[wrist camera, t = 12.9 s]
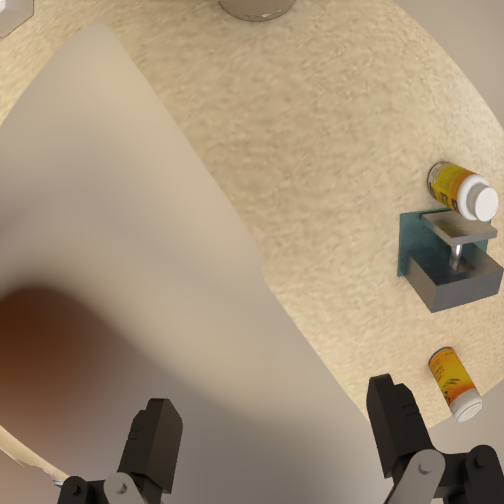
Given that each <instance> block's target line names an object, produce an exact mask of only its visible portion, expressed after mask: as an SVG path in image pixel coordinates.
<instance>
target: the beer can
mask: <svg viewBox="0 0 504 504" xmlns="http://www.w3.org/2000/svg"><path fill="white" fill-rule="evenodd" d="M430 369H431V371H432V373H433V375H434V377H435V379H436V381H437V383H438V385H439V387H440V389H441V391H442V393H443V396H444V398H445V400H446V402H447V404H448V406H449V408H450V411H451V413H452V415H453V417H454V418H455V419H456V420H457V421H458V422H463V421H465V420H467V419H469V418H471V417H472V416H474V415H475V414H476V413H477V412H478V411H479V410H480V409H481V407H482V398H481V396H480V394H479V392H478V391H477V389H476V387H475V385H474V383H473V382H472V380H471V378H470V376H469V375H468V373H467V371H466V370H465V368H464V366H463V365H462V363H461V361H460V360H459V358H458V356H457V355H456V353H455V351H454V350H453V349H449V348H444V349H442V350H440V351H438V352H437V353H436V354H435V355H434V356H433V357H432V359H431V361H430Z"/></svg>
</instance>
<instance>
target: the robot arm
mask: <svg viewBox="0 0 504 504" xmlns="http://www.w3.org/2000/svg"><path fill="white" fill-rule="evenodd" d="M218 1H219V3H220V5H221V6H222V7H223V8H224V9H225V10H226V11H227V12H228V13H230V14H231V15H233V16H235V17H237V18H240V19H243V20H247V21H266V20H271V19H274V18H276V17H279V16H281V15H282V14H284V13H286V12H287V11H288V10H289V9H290V8H291V7H292V5H293V3H294V2H295V0H218ZM366 405H367V411H368V415H369V419H370V422H371V426H372V429H373V434H374V437H375V441H376V445H377V449H378V453H379V457H380V461H381V465H382V469H383V473H384V478H389V477H392V478H393V482H394V486H393V487H392V489H391V491H390V493H389V495H388V497H387V498H386V500H385V502H384V504H430V503H431V500H432V498H443V503H444V504H504V475H503V472H502V469H501V466H500V463H499V460H498V457H497V454H496V452H495V450H494V449H493V448H492V447H490V446H488V445H479V446H476V447H474V448H473V449H472V450H471V451H470V452H468V453H458V454H445V453H441V452H440V451H438V450H436V448H435V447H434V446H433V445H432V442H431V440H430V437H429V435H428V432H427V429H426V426H425V424H424V421H423V419H422V416H421V413H420V412H419V408H418V406H417V404H416V401H415V399H414V396H413V394H412V391H411V390H409V389H408V388H407V387H406V386H405V385H404V384H403V383H401V384H397V385H394V383H393V381H392V378H391V376H390V374H388V373H387V374H383V375H379V376H375V377H371V378H370V380H369V386H368V392H367V398H366ZM130 430H131V431H130V432H129V435H128V440H127V442H126V445H125V448H124V451H123V455H122V458H121V461H120V465H119V468H118V470H117V472H116V473H113V474H111V475H110V476H109V477H108V478H107V479H106V480H99V481H87V482H86V481H85V480H84V479H82V478H81V477H78V476H71V477H69V478H67V479H66V480H65V481H64V483H63V485H62V488H61V492H60V496H59V499H58V503H57V504H164V503H163V502H162V500H161V496H162V493H166V494H171V491H172V485H173V479H174V473H175V468H176V463H177V457H178V452H179V446H180V441H181V436H182V430H183V423H182V419H181V417H180V416H179V414H178V412H177V411H176V409H175V408H174V406H173V404H172V403H171V401H170V400H169V399H163V398H161V399H160V398H159V399H158V398H151V399H150V400H149V402H148V404H147V407H146V410H140V411H139V413H138V414H137V415H136V416H135V418H134V419H133V422H132V425H131V429H130Z"/></svg>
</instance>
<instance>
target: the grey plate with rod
mask: <svg viewBox="0 0 504 504" xmlns="http://www.w3.org/2000/svg"><path fill="white" fill-rule="evenodd" d="M421 222H422V223H424V224H425V225H426V226H427V227H428V228H430V229H431V230H432V231H433V232H435V233H436V234H437V235H438V236H439V237H440V238H442V239H443V240H444V241H445V242H446V243H447V244H449V245H450V246H451V252H450V260H449V264H450V265H451V266H452V267H453V268H454V269H455V270H456V271H457V272H458V270H459V264H460V258H461V251H462V244H466V243H471V242H476V241H481V240H486V239H491V238H496V236H497V229H495V228H494V227H492V226H491V225H489V224H488V223H486V222H485V221H481V220H479V219H477V220H468V219H466V218H464V217H463V216H461V215H460V214H458V213H457V212H455V211H446V212H438V213H430V214H423V215H421Z"/></svg>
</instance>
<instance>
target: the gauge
mask: <svg viewBox="0 0 504 504" xmlns="http://www.w3.org/2000/svg"><path fill="white" fill-rule="evenodd" d="M446 211H454V210H452V209H450V208H444V209H436V210H428V211H420V212H412V213H404V214H400V240H399V259H398V273H397V276H398V277H400V276H405V277H406V279H407V280H408V281H409V283H410V284H411V285H412V287H413V288H414V289H415V291H416V292H417V294H418V295H419V296H420V298H421V299H422V301H423V302H424V303H425V305H426V306H427V308H428V309H429V310H430V312H431V313H434V312H438V311H442V310H445V309H449V308H453V307H456V306H460V305H463V304H467V303H470V302H473V301H477V300H480V299H483V298H486V297H489V296H492V295H495V294H498V291H499V287H500V283H501V279H502V275H503V271H504V268H503V267H502V266H500V265H499V264H498V263H497V262H496V261H495V260H493V259H492V258H491V257H490V256H489V255H488V254H486V250H487V244H488V239H486V240H481V241H476V242H471V243H466V244H462V251H461V258H460V264H459V270H458V272H457V271H456V270H455V269H454V268H453V267H452V266H451V265H450V264H449V260H450V252H451V246H450V245H449V244H447V243H446V242H445V241H444V240H443V239H442V238H440V237H439V236H438V235H437V234H436V233H435V232H433V231H432V230H431V229H430V228H428V227H427V226H426V225H425V224H424V223H422V222H421V215H423V214H430V213H438V212H446ZM485 222H486V223H488V224H489V225H490V223H491V219H490V220H488V221H485Z"/></svg>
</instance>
